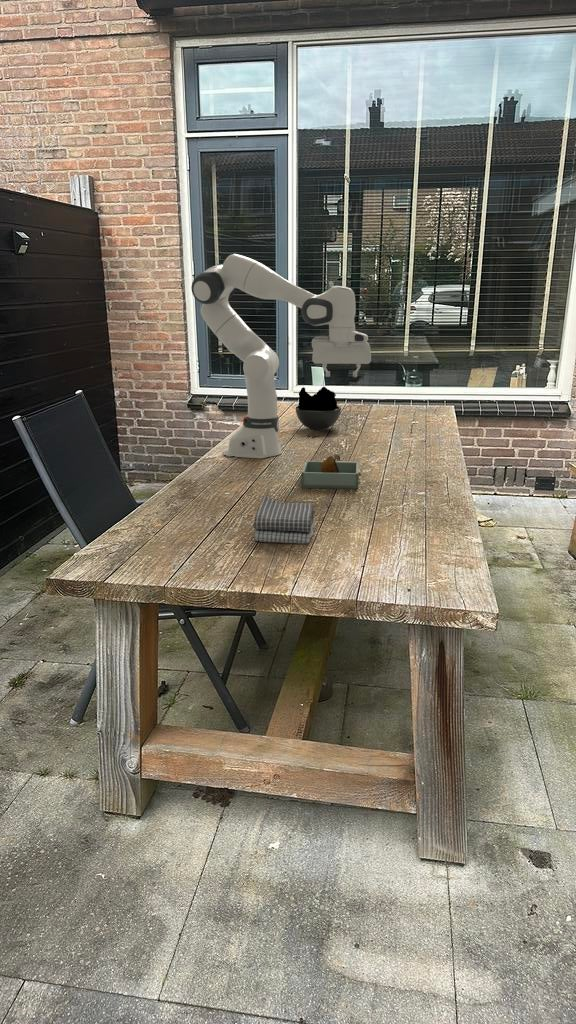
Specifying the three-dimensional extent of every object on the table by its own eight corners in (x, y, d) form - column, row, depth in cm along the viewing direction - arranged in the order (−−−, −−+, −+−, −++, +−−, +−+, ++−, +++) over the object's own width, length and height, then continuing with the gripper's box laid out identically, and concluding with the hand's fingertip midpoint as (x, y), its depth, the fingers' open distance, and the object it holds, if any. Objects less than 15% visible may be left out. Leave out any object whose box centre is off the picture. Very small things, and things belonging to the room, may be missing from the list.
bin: (301, 487, 220) (301, 472, 218) (305, 475, 234) (305, 461, 232) (357, 489, 218) (358, 473, 216) (358, 476, 232) (359, 462, 230)
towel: (252, 545, 173) (251, 516, 170) (260, 521, 190) (259, 494, 188) (312, 546, 172) (312, 517, 169) (315, 522, 189) (315, 495, 187)
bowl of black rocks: (348, 428, 308) (349, 386, 302) (326, 436, 292) (327, 392, 286) (310, 423, 318) (310, 383, 312) (287, 431, 302) (286, 388, 296)
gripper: (310, 336, 232) (310, 377, 236) (371, 336, 230) (370, 378, 234) (312, 335, 238) (312, 375, 242) (371, 335, 236) (370, 375, 240)
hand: (341, 376), depth 238 cm, fingers open, 8 cm apart
